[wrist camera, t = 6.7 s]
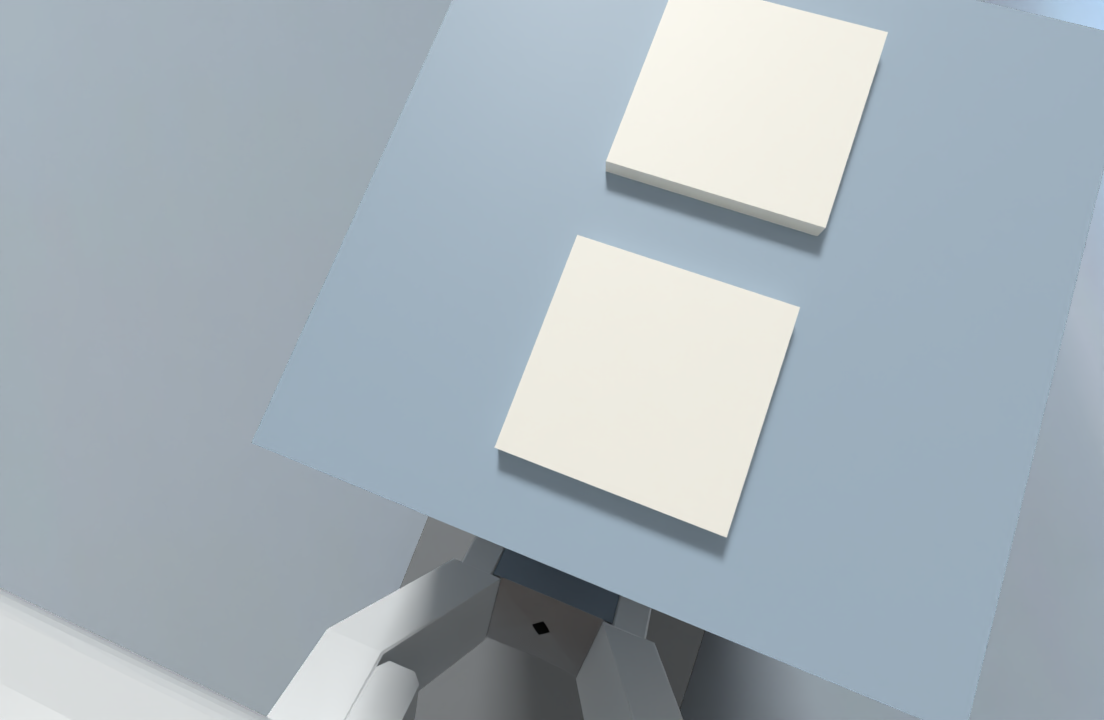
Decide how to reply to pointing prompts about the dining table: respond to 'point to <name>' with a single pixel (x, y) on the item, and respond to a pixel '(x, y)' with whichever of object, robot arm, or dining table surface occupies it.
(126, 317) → the dining table surface
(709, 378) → the rectangular block
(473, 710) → the grey flat block
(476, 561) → the robot arm
